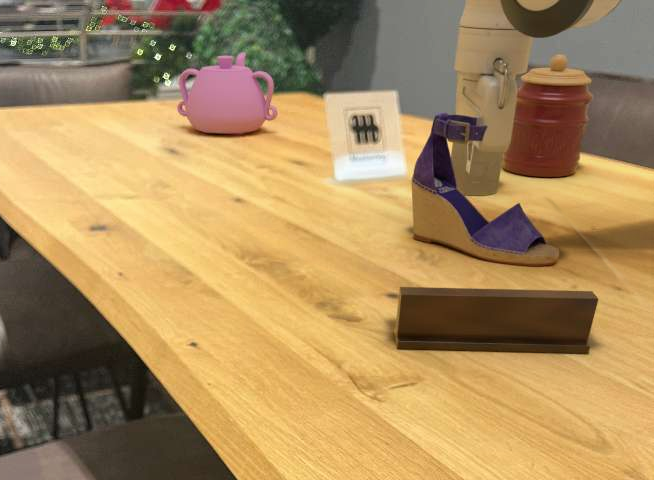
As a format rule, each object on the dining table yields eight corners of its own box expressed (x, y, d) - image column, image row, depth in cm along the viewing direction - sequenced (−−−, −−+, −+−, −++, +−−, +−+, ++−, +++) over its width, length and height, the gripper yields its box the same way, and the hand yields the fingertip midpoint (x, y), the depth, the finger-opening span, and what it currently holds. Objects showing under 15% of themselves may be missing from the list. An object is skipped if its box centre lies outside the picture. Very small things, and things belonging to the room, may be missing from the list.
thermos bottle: (446, 182, 126) (473, -23, 110) (496, 184, 125) (529, -22, 109) (446, 194, 120) (474, -21, 104) (498, 196, 119) (535, -21, 103)
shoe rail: (577, 336, 75) (589, 287, 72) (588, 354, 72) (602, 302, 69) (393, 332, 76) (398, 282, 73) (397, 349, 72) (402, 298, 69)
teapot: (290, 122, 171) (291, 51, 163) (267, 140, 154) (267, 62, 146) (197, 117, 175) (194, 48, 167) (164, 135, 158) (159, 58, 150)
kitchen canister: (534, 158, 142) (555, 49, 131) (592, 172, 133) (619, 56, 123) (485, 167, 136) (502, 52, 126) (542, 182, 127) (565, 60, 117)
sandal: (535, 274, 90) (564, 135, 81) (397, 239, 101) (409, 113, 92) (566, 258, 95) (596, 125, 86) (431, 226, 105) (446, 106, 97)
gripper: (538, 65, 85) (513, 195, 93) (502, 47, 101) (484, 158, 109) (480, 64, 85) (461, 194, 93) (454, 46, 101) (440, 157, 109)
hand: (473, 174), depth 101 cm, fingers closed
